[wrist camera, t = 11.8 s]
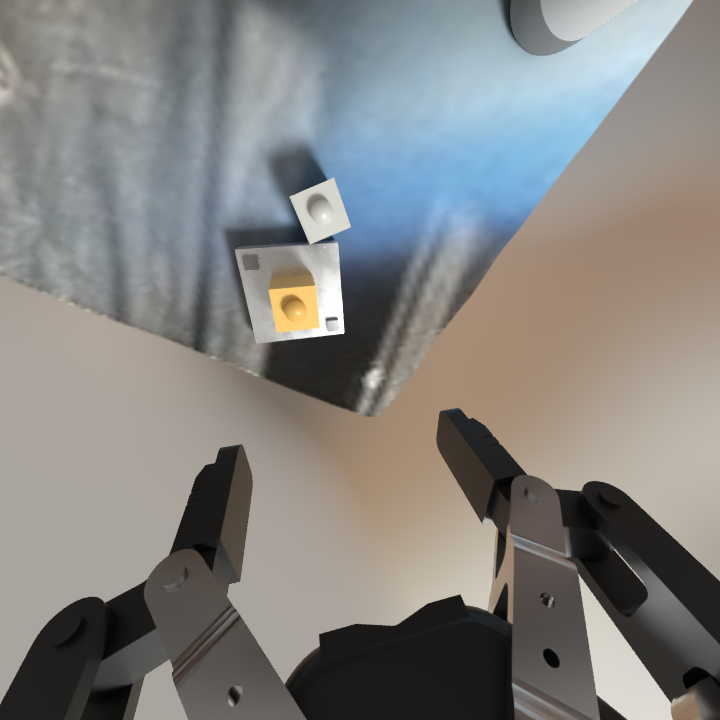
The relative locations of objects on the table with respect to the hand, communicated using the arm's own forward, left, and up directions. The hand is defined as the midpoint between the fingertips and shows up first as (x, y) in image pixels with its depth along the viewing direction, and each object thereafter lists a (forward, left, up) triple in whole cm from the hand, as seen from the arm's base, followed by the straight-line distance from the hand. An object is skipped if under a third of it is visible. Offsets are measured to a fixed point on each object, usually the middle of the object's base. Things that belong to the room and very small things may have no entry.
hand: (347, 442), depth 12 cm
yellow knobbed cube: (+2, -2, -29) cm, 29 cm away
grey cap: (-7, +2, -32) cm, 33 cm away
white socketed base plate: (+2, -2, -32) cm, 32 cm away
